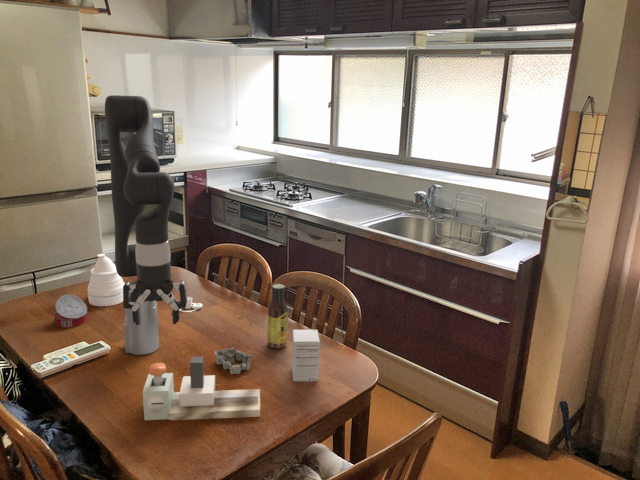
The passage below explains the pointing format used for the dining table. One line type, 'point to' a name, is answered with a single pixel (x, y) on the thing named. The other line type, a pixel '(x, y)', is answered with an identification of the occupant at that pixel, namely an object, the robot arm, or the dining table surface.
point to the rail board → (220, 406)
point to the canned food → (70, 311)
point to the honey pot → (105, 283)
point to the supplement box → (305, 355)
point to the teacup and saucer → (189, 305)
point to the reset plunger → (157, 372)
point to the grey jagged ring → (229, 357)
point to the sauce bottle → (277, 318)
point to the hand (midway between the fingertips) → (156, 323)
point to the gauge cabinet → (158, 397)
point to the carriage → (197, 385)
